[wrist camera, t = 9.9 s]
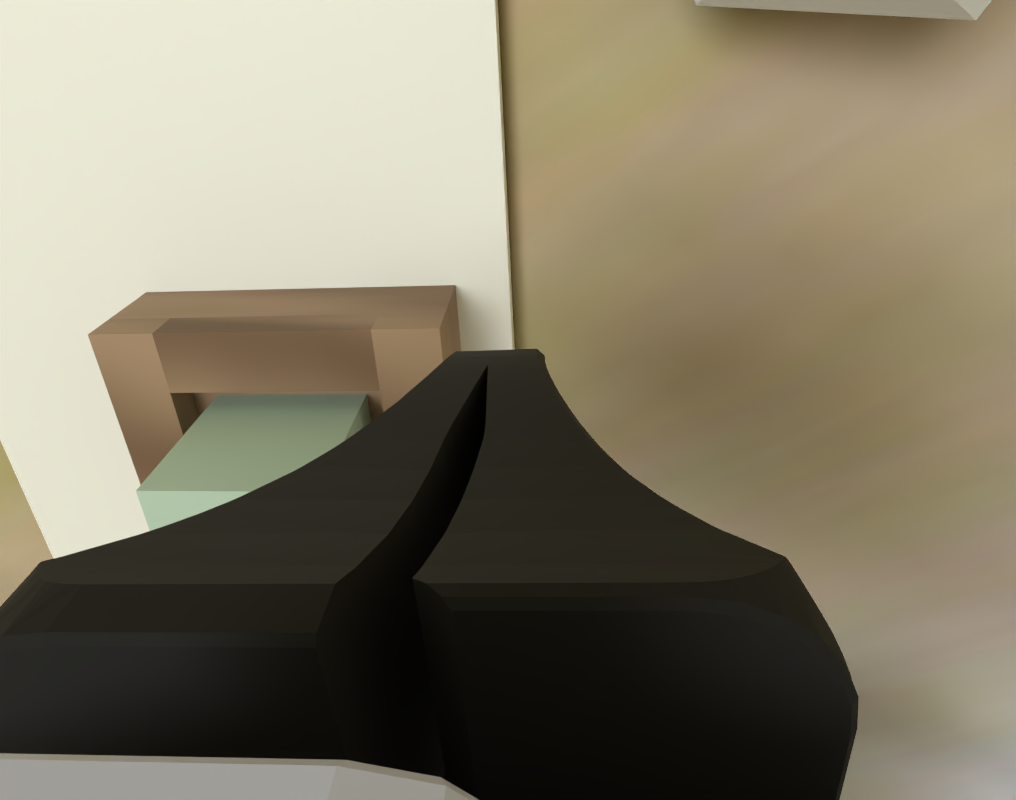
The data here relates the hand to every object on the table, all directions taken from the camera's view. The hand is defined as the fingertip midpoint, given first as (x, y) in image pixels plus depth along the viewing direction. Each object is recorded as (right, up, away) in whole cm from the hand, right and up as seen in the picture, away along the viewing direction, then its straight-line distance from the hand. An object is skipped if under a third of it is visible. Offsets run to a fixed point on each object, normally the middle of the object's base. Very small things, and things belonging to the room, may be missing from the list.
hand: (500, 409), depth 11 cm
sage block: (-6, -2, +10) cm, 12 cm away
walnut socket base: (-6, -1, +12) cm, 13 cm away
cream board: (-8, +4, +10) cm, 14 cm away
